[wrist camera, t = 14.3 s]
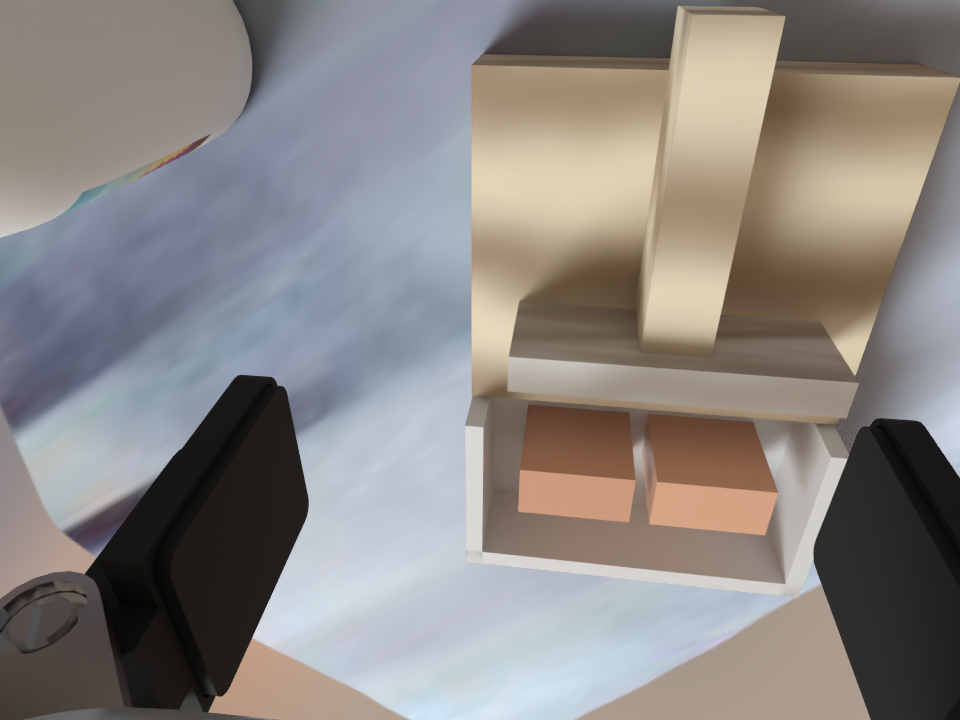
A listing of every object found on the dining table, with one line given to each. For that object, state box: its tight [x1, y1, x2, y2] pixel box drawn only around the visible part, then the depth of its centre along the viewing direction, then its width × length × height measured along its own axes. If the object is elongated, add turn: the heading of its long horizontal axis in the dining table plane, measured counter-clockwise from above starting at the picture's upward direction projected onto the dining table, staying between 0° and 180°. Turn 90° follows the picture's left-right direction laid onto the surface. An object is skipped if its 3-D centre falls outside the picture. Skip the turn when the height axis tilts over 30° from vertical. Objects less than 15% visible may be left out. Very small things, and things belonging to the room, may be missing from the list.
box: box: [465, 395, 849, 598], centre depth 33 cm, size 8×16×5 cm, turn 90°
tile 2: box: [518, 405, 636, 522], centre depth 32 cm, size 5×5×2 cm
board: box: [472, 54, 960, 425], centre depth 27 cm, size 14×16×3 cm
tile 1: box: [641, 414, 778, 535], centre depth 31 cm, size 5×5×2 cm
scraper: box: [507, 6, 859, 419], centre depth 23 cm, size 12×12×4 cm
